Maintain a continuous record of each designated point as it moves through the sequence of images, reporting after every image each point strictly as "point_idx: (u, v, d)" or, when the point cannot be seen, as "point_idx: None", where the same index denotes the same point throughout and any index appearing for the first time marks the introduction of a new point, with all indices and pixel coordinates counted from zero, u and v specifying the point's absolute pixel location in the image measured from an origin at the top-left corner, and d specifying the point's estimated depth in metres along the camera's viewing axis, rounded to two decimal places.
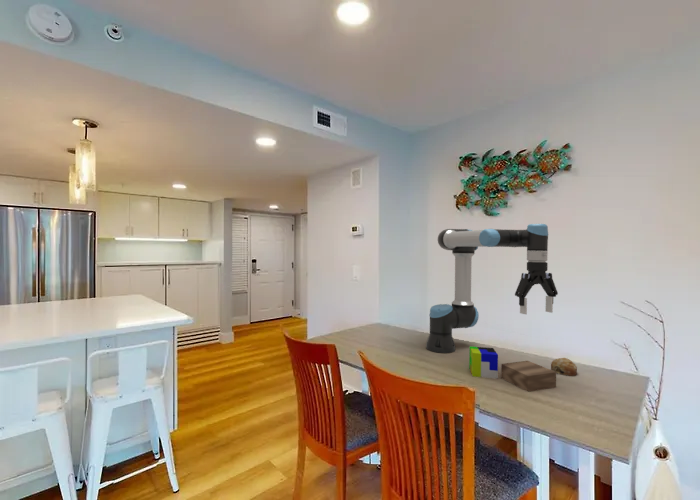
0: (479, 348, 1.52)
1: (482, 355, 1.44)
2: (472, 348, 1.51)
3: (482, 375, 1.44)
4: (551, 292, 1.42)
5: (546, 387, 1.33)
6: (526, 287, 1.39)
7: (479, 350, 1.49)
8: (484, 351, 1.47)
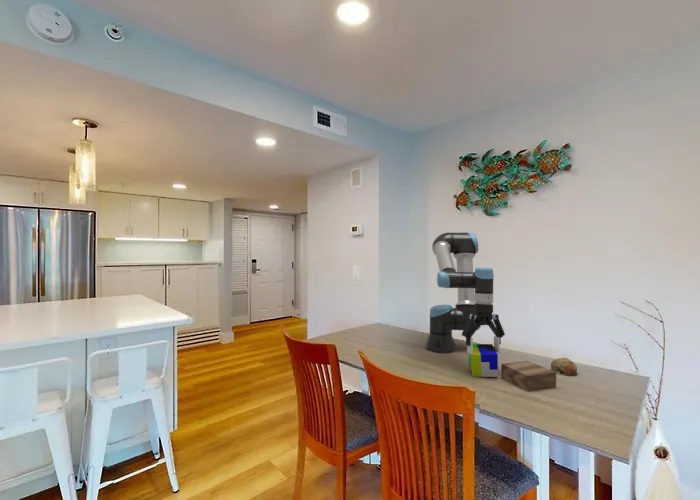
0: (478, 346, 1.50)
1: (482, 356, 1.43)
2: None
3: (482, 375, 1.44)
4: (498, 332, 1.48)
5: (546, 387, 1.33)
6: (473, 328, 1.45)
7: (479, 349, 1.47)
8: (483, 351, 1.45)
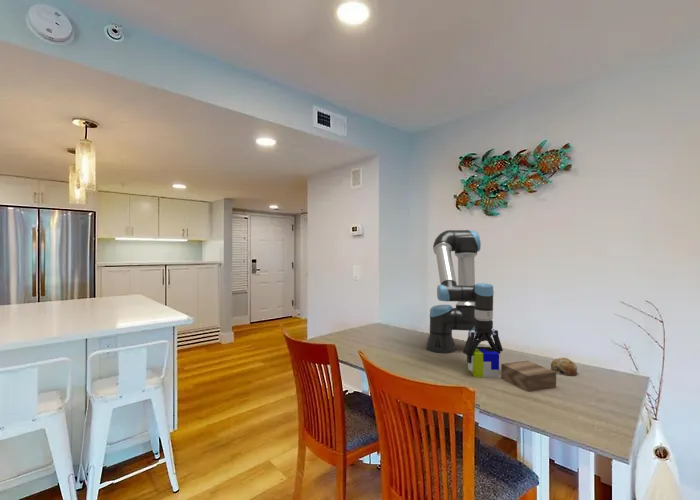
0: (478, 348, 1.52)
1: (484, 355, 1.44)
2: None
3: (484, 375, 1.44)
4: (496, 348, 1.49)
5: (546, 387, 1.33)
6: (473, 345, 1.47)
7: (479, 350, 1.49)
8: (485, 351, 1.47)
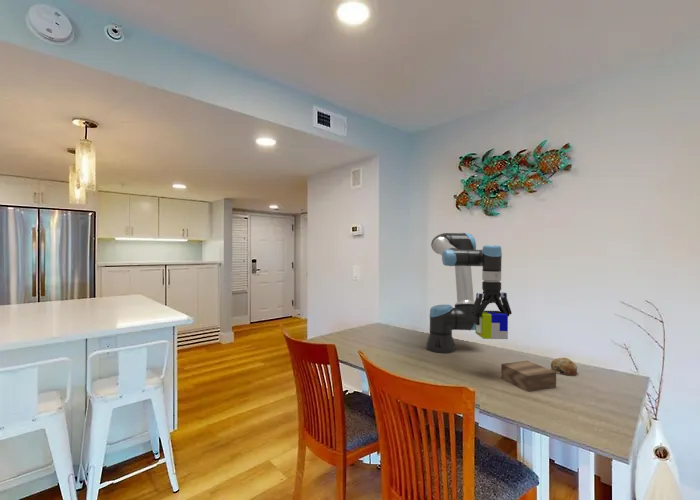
0: (486, 311, 1.49)
1: (492, 316, 1.42)
2: None
3: (492, 336, 1.42)
4: (505, 311, 1.47)
5: (546, 387, 1.33)
6: (481, 307, 1.45)
7: (487, 312, 1.47)
8: (493, 313, 1.45)
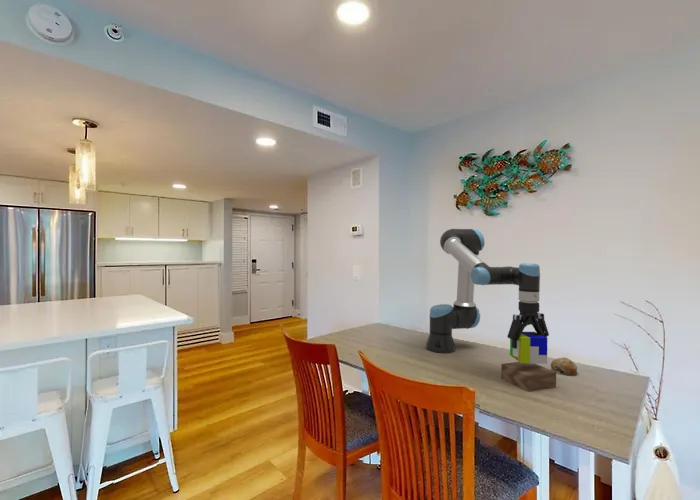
0: (522, 332, 1.41)
1: (531, 339, 1.34)
2: None
3: (531, 361, 1.34)
4: (542, 333, 1.39)
5: (546, 387, 1.33)
6: (518, 329, 1.37)
7: (524, 334, 1.39)
8: (531, 336, 1.37)
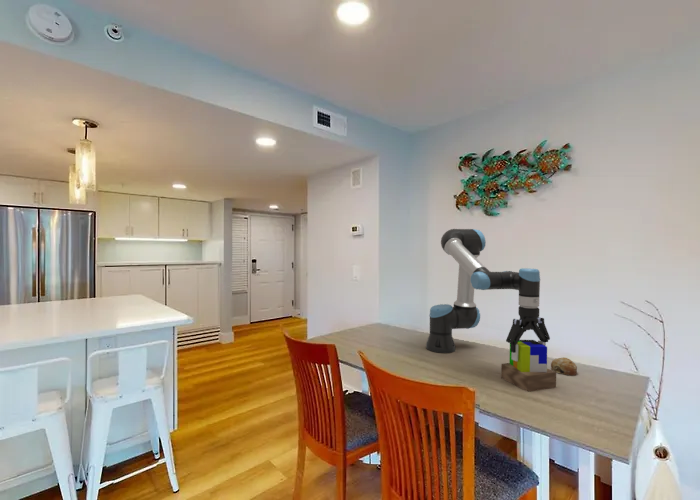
0: (521, 341, 1.42)
1: (531, 348, 1.34)
2: None
3: (531, 370, 1.34)
4: (543, 337, 1.40)
5: (546, 387, 1.33)
6: (518, 333, 1.37)
7: (524, 343, 1.39)
8: (530, 344, 1.37)
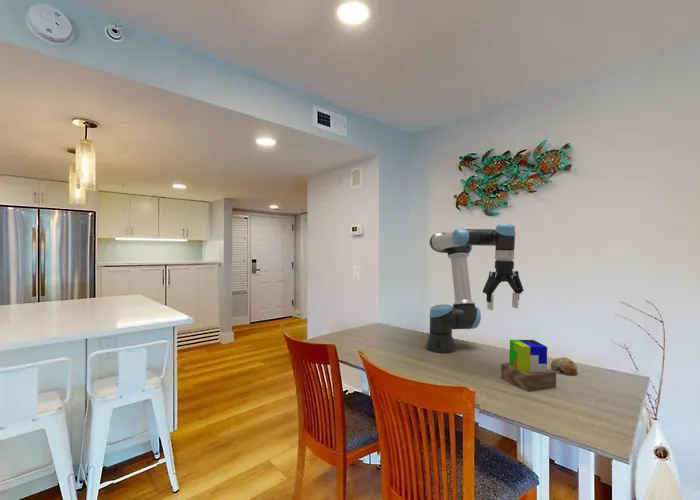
0: (521, 341, 1.42)
1: (531, 348, 1.34)
2: (515, 341, 1.41)
3: (531, 370, 1.34)
4: (517, 288, 1.49)
5: (546, 387, 1.33)
6: (493, 284, 1.46)
7: (524, 343, 1.39)
8: (530, 344, 1.37)
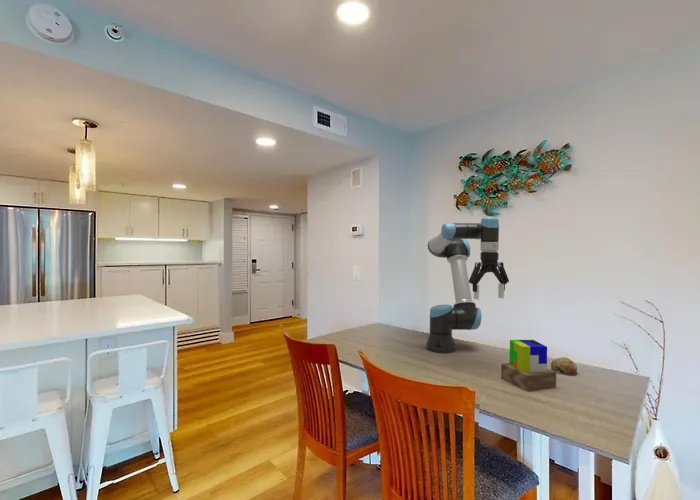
0: (521, 341, 1.42)
1: (531, 348, 1.34)
2: (515, 341, 1.41)
3: (531, 370, 1.34)
4: (503, 279, 1.55)
5: (546, 387, 1.33)
6: (479, 275, 1.52)
7: (524, 343, 1.39)
8: (530, 344, 1.37)
